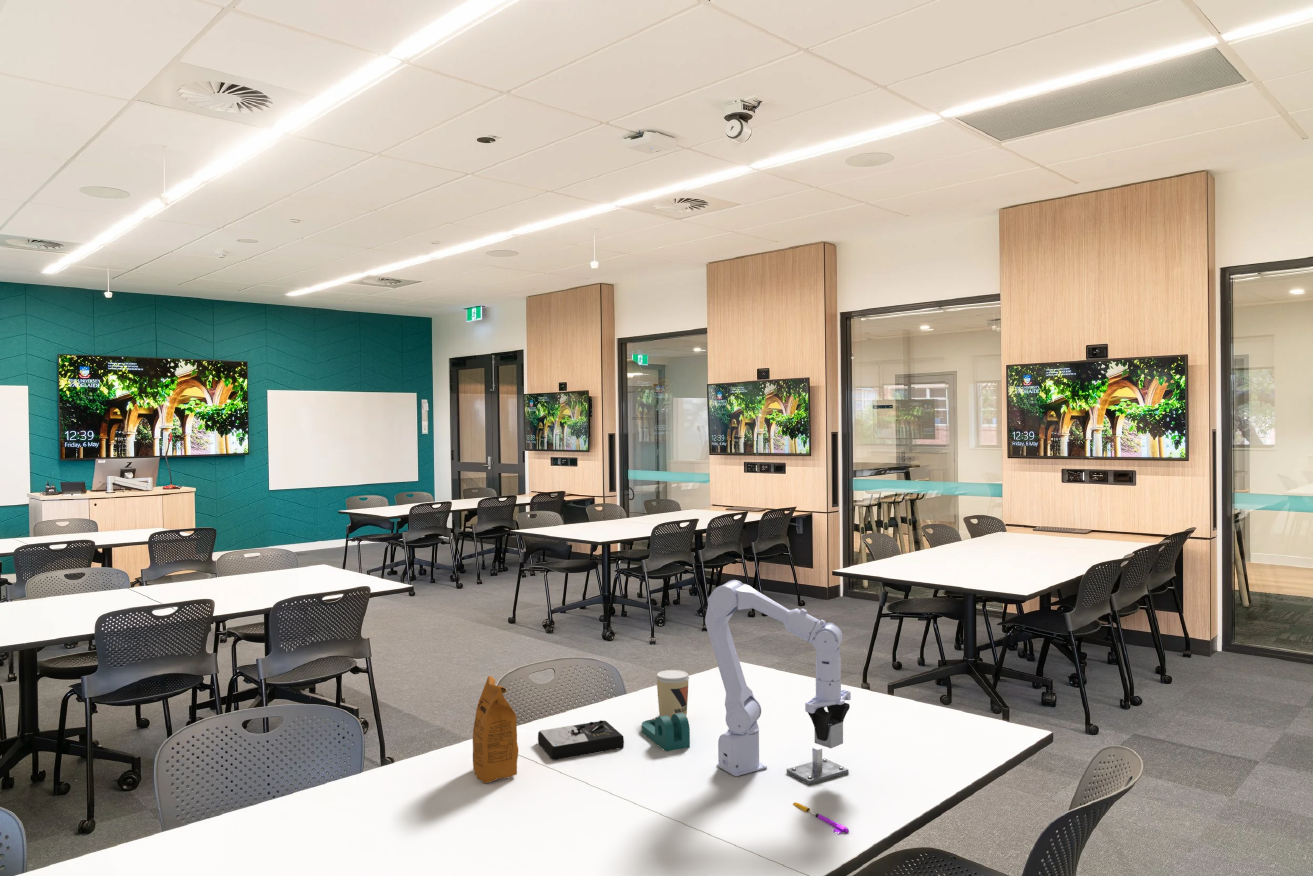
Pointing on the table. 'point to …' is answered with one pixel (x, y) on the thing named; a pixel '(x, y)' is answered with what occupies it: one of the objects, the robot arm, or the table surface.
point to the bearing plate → (817, 775)
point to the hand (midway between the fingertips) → (828, 737)
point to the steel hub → (832, 734)
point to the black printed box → (580, 740)
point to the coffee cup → (672, 692)
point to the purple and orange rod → (824, 819)
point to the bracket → (668, 731)
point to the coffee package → (494, 735)
